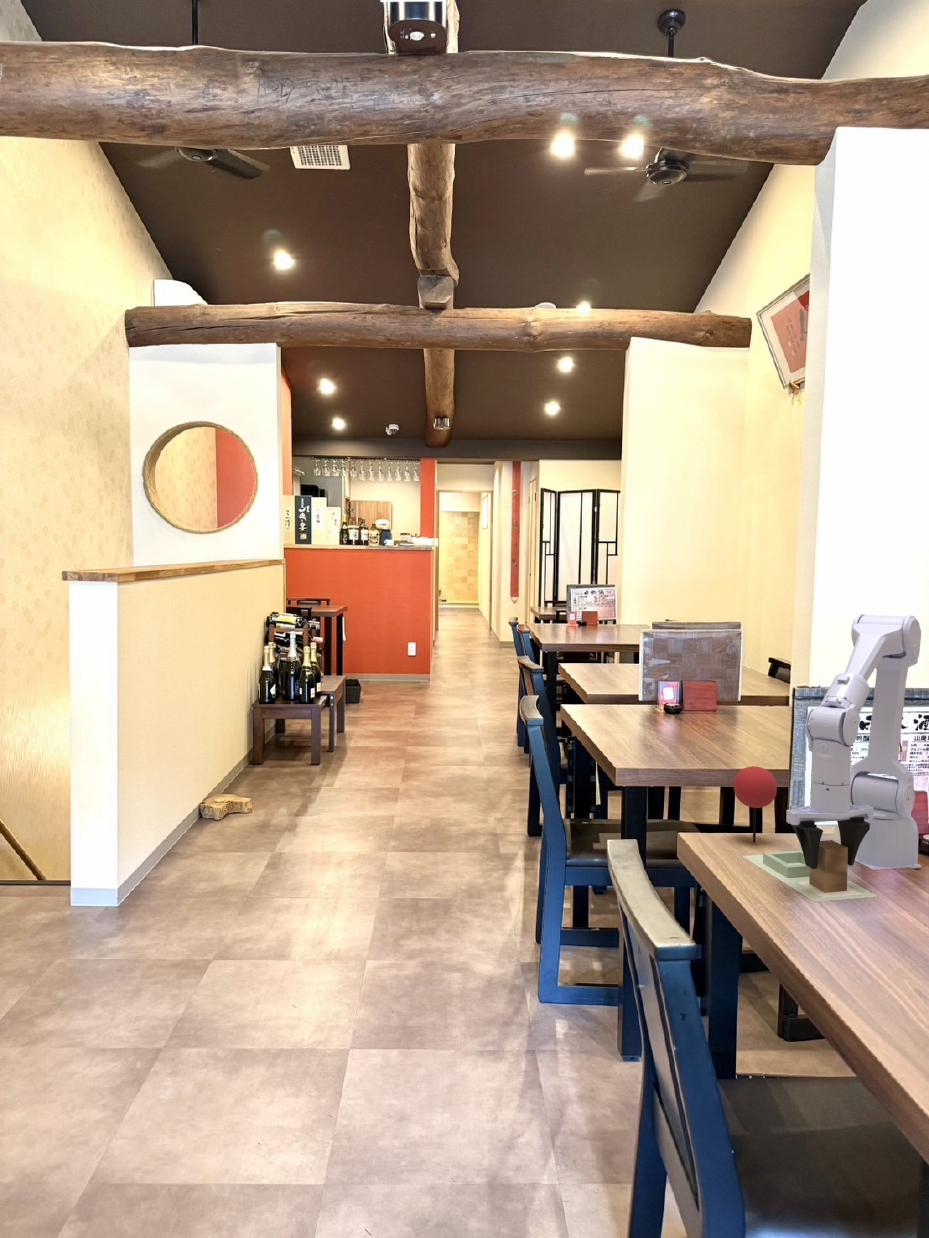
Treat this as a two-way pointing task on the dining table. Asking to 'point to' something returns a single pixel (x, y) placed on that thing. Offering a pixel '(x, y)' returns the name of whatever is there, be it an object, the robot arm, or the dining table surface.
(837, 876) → the walnut post
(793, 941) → the dining table surface
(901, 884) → the dining table surface
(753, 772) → the lollipop
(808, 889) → the pocket board
